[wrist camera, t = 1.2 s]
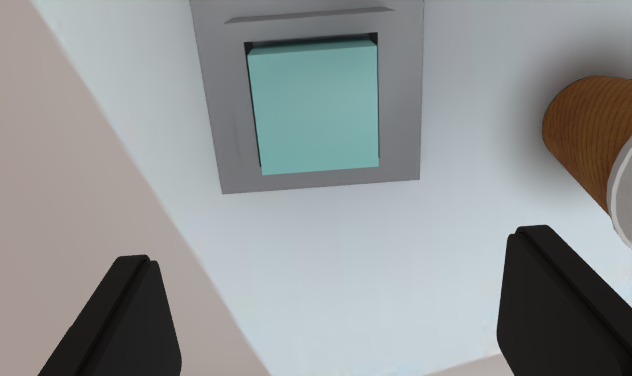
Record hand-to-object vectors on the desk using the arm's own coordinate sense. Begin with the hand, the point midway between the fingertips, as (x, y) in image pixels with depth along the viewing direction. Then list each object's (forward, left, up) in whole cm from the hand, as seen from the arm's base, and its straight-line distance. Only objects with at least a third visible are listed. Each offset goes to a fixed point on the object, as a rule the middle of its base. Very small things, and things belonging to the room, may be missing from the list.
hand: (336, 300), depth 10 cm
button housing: (0, 0, -23) cm, 23 cm away
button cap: (0, 0, -19) cm, 19 cm away
